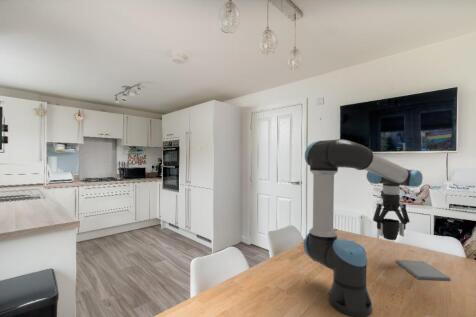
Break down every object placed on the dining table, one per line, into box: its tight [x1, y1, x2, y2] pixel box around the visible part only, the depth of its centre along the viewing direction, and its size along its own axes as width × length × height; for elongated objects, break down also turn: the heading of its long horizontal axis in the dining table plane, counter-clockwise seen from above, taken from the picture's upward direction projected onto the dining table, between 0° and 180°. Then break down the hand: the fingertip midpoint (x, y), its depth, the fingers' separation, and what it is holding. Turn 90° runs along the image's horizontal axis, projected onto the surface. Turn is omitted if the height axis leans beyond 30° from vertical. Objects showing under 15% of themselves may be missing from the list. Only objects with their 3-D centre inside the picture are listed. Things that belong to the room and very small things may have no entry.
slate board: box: [395, 259, 451, 282], centre depth 117 cm, size 18×14×1 cm
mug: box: [381, 218, 400, 241], centre depth 123 cm, size 8×12×10 cm
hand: (391, 235), depth 123 cm, fingers closed on mug, 10 cm apart
